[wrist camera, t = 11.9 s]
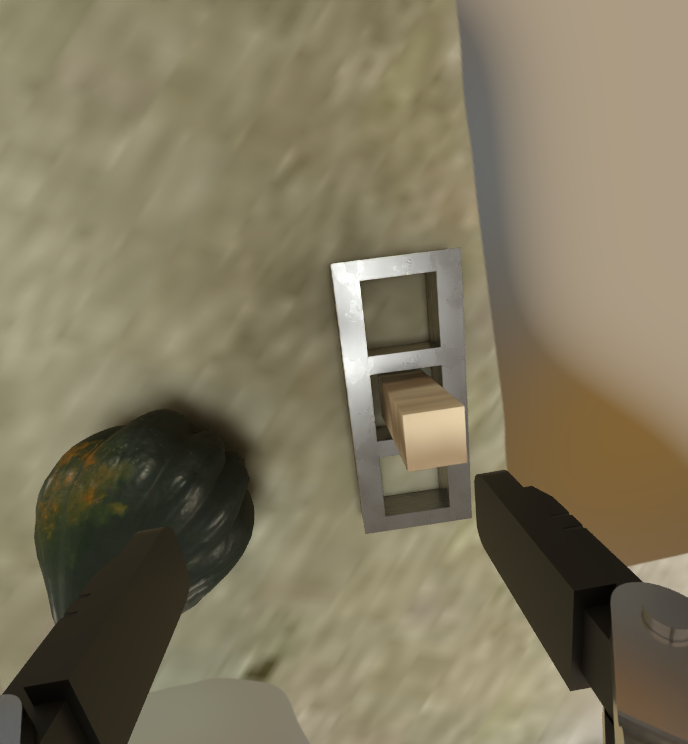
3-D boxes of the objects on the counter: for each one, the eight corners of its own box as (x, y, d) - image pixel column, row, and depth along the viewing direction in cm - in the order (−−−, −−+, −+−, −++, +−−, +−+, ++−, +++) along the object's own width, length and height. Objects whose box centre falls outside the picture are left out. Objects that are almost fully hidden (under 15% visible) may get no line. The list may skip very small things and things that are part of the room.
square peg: (377, 375, 32) (402, 415, 22) (421, 369, 32) (464, 406, 22) (382, 416, 33) (407, 471, 23) (424, 410, 33) (467, 462, 23)
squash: (234, 380, 26) (-38, 541, 15) (311, 535, 30) (141, 744, 19) (157, 390, 35) (-43, 493, 24) (225, 507, 39) (78, 638, 29)
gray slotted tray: (330, 266, 29) (330, 263, 26) (447, 251, 30) (461, 247, 27) (361, 513, 35) (365, 533, 32) (459, 498, 35) (471, 517, 32)
